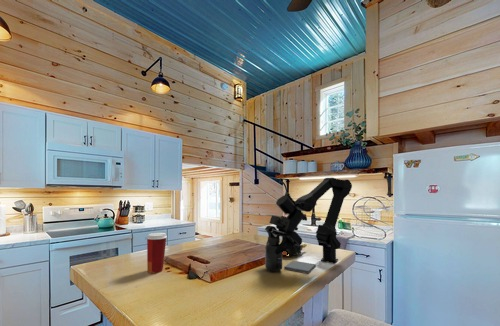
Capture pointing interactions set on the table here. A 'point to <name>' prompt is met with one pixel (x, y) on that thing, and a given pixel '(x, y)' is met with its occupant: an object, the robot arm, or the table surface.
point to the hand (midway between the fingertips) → (270, 251)
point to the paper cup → (155, 252)
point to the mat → (300, 266)
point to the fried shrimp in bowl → (295, 250)
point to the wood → (193, 275)
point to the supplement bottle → (273, 255)
